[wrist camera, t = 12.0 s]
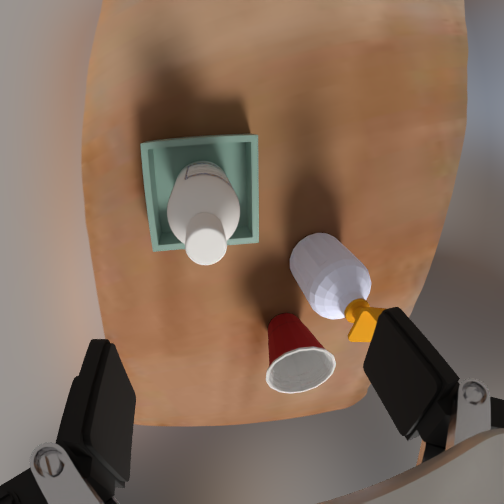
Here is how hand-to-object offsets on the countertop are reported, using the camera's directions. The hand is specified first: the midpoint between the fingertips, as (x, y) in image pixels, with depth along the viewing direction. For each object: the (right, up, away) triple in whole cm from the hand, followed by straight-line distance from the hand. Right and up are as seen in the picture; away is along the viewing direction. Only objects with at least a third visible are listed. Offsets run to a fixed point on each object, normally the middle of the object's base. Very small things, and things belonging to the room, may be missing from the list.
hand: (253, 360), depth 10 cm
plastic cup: (+5, -9, +42) cm, 43 cm away
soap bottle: (+10, +3, +37) cm, 39 cm away
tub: (-7, +13, +29) cm, 32 cm away
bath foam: (-7, +12, +28) cm, 32 cm away
